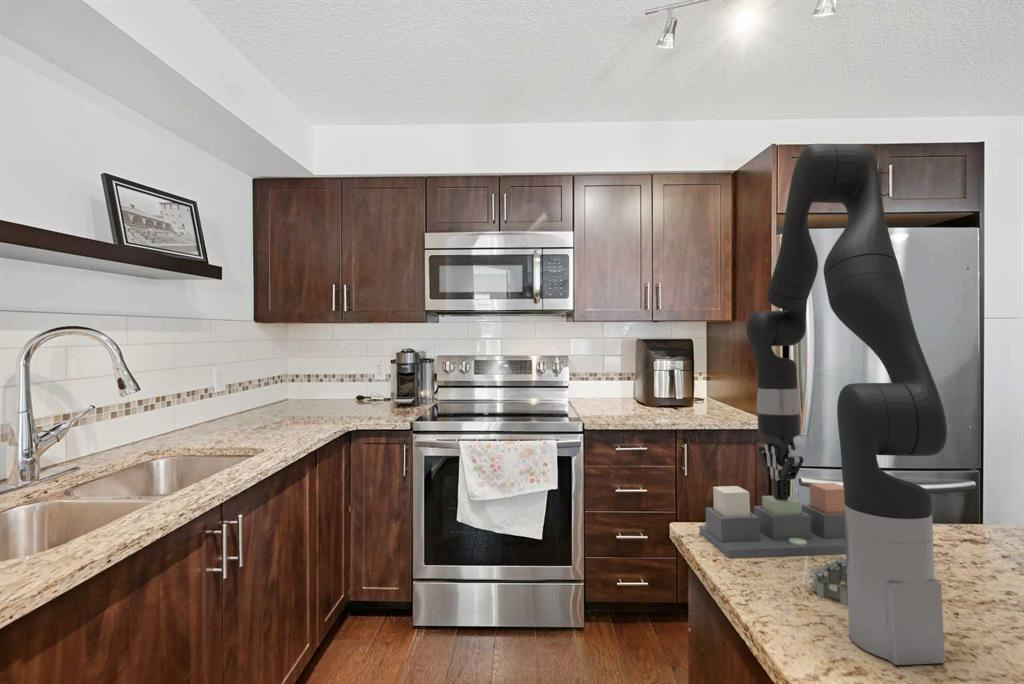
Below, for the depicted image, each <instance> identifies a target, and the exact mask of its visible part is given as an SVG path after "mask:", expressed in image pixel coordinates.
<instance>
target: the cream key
mask: <svg viewBox="0 0 1024 684" xmlns="http://www.w3.org/2000/svg"><path fill="white" fill-rule="evenodd" d="M712 492H713V495H712V496H713V507H714V511H715V512H716V513H718V514H719V515H721V516H722V517H748V516H750V512H751V507H750V506H751V504H750V503H751V501H750V500H751V499H750V491H748V490H747V489H744V488H743V487H740V486H738V485H732V486H731V485H730V486H729V485H727V486H726V485H723V486H721V485H720V486H713V487H712Z"/></svg>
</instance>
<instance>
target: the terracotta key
mask: <svg viewBox="0 0 1024 684" xmlns="http://www.w3.org/2000/svg"><path fill="white" fill-rule="evenodd" d="M809 491H810V493H809V496H810V504H811V507H812V508H814V509H816V510H818V511H820V512H822V513H824V514H839V513H845V503H844V486H843V485H840V484H838V483H835V482H826V483H825V482H822V483H821V482H820V483H809Z"/></svg>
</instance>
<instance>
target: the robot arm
mask: <svg viewBox="0 0 1024 684" xmlns="http://www.w3.org/2000/svg"><path fill="white" fill-rule="evenodd" d="M879 172H880V171H879V165H878V161H877V158H876V156H875V153H874V151H873V150H872V149H871V148H870V147H869V146H867V145H863V144H857V143H849V144H848V143H812V144H809V145H807V146H805V147H804V148H803V149H802V151H801V152H800V153H799V155H798V157H797V160H796V162H795V164H794V168H793V172H792V175H791V180H790V185H789V190H788V191H789V192H788V195H787V196H788V197H787V203H786V209H785V215H784V221H783V227H782V235H781V241H780V246H779V252H778V255H777V260H776V263H775V266H774V269H773V273H772V276H771V279H770V282H769V285H768V288H767V293H766V297H767V301H768V303H770V304H771V305H772V306H774V307H776V308H778V309H782V310H761V311H760V310H759V311H755V312H754V313H751V315H750V316H749V318H748V320H747V323H746V326H745V327H746V331H745V332H746V336H747V339H748V342H749V345H750V347H751V351H752V354H753V357H754V360H755V364H756V370H757V372H756V373H757V395H756V404H757V405H756V407H757V409H756V410H757V413H756V414H757V432H758V434H760V435H761V436H764V439H763V443H764V445H763V446H758V448H757V451H758V454H759V456H760V459H761V461H762V465H763V467H764V470H765V472H766V474H767V475H768V474H769V475H770V478H771V480H772V487H773V490H772V492H773V496H774V498H776V499H778V500H787V499H788V496H789V482H790V481H791V480H796V478H797V475H798V474H799V472H800V469H801V467H802V466H803V463H804V457H803V456H798V455H797V453H796V444H795V440H794V439H795V438H796V437H798V436H800V435H801V422H800V421H801V417H800V400H799V394H798V376H797V375H798V374H797V371H798V370H797V364H796V362H795V361H794V359H791V358H786V357H781V356H778V355H776V353H775V352H774V350H773V348H772V347H787V346H788V347H790V346H795V345H797V344H798V343H800V342H801V341H802V340H803V339H804V337H805V335H806V331H807V310H808V309H807V306H808V299H809V296H810V294H811V291H812V288H813V286H814V283H815V280H816V278H817V274H818V270H819V260H818V259H819V258H818V254H817V250H816V248H815V245H814V243H813V240H812V237H811V233H810V229H809V224H808V223H809V221H808V220H809V219H808V218H809V213H810V210H811V207H812V204H813V203H819V204H821V203H823V204H824V203H825V204H842V205H843V206H844V207H845V209H846V212H847V223H846V226H845V227H844V229H843V231H842V232H841V234H840V235H839V237H838V239H837V240H836V241H835V243H834V244H833V246H832V248H831V249H830V251H829V252H828V255H827V256H826V258H825V261H824V265H823V276H824V277H823V278H824V282H825V287H826V288H825V289H826V293H827V298H828V299H827V300H828V303H829V307H830V309H831V310H832V312H833V313H834V315H835V316H836V318H838V320H839V321H841V323H842V324H843V325H844V326H845V327H846V328H847V329H849V330H850V331H851V332H852V333H853V334H854V335H856V337H858V338H859V339H860V340H861V341H862V342H863V343H864V344H865V345H866V346H868V348H869V349H870V350H872V352H873V353H874V354H875V356H877V358H878V359H879V361H880V362H881V364H883V367H884V369H885V370H886V373H887V375H888V377H889V379H890V382H867V383H866V382H865V383H864V382H863V383H862V382H860V383H859V382H857V383H848V384H846V385H845V386H843V387H842V389H841V390H840V392H839V395H838V398H837V405H836V406H837V410H836V413H837V414H836V416H837V417H836V418H837V428H838V429H837V430H838V438H839V446H840V459H841V473H842V475H841V476H842V486H843V487H844V503H845V535H846V554H845V555H846V556H845V557H846V558H845V559H846V563H847V591H848V606H847V608H848V613H847V614H848V633H849V634H848V635H849V638H850V640H852V642H853V643H854V644H855V645H856V646H858V647H859V648H860V649H862V650H864V651H865V652H868V653H870V654H872V655H874V656H877V657H880V658H882V659H885V660H887V661H889V662H891V663H892V664H893V665H896V666H904V665H905V666H906V665H907V666H908V665H926V664H930V665H932V664H945V662H946V661H945V640H944V617H943V613H944V611H943V592H942V591H943V590H942V584H941V582H940V581H938V580H936V579H935V577H936V576H935V575H936V574H935V558H934V556H935V554H934V553H935V552H934V529H933V525H934V523H933V500H932V495H931V493H930V492H929V491H928V490H927V489H926V488H925V487H923V486H921V485H919V484H916V483H913V482H911V481H909V480H908V481H907V480H905V479H901V478H898V477H895V476H892V475H891V474H889V473H887V472H886V471H883V470H882V469H881V468H880V466H879V462H878V458H877V456H895V457H896V456H897V457H899V456H900V457H901V456H902V457H930V456H935V455H937V454H939V453H940V452H941V451H942V450H943V449H944V447H945V445H946V442H947V435H948V428H947V417H946V414H945V410H944V409H945V408H944V406H943V403H942V399H941V396H940V394H939V390H938V388H937V386H936V382H935V379H934V377H933V375H932V373H931V370H930V367H929V365H928V362H927V360H926V357H925V355H924V353H923V349H922V347H921V344H920V341H919V338H918V336H917V332H916V330H915V327H914V321H913V319H912V315H911V311H910V307H909V302H908V299H907V298H908V297H907V293H906V290H905V285H904V279H903V277H902V273H901V269H900V266H899V263H898V259H897V256H896V253H895V251H894V247H893V244H892V241H891V235H890V232H889V227H888V224H887V220H886V219H887V218H886V213H885V210H884V202H883V193H882V188H881V187H882V185H881V179H880V173H879Z"/></svg>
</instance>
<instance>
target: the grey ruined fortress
mask: <svg viewBox="0 0 1024 684" xmlns="http://www.w3.org/2000/svg"><path fill="white" fill-rule="evenodd" d="M809 579H811V580H812V583H813V584H812V585H813V586H812V587H813V588H812V590H813V592H816V593H817V596H818V597H821V598H832V599H836V600H839V601H840V604H841V605H844V606H847V607H848V591H847V563H846V558H845V557H843V556H839V557H838V558H837V559H836V560H834V561H833V562H832V561H830V563H829V562H826V563H825V564H824V565H822V566H819V567H818V568H810V570H809ZM840 580H844V583H840Z"/></svg>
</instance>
